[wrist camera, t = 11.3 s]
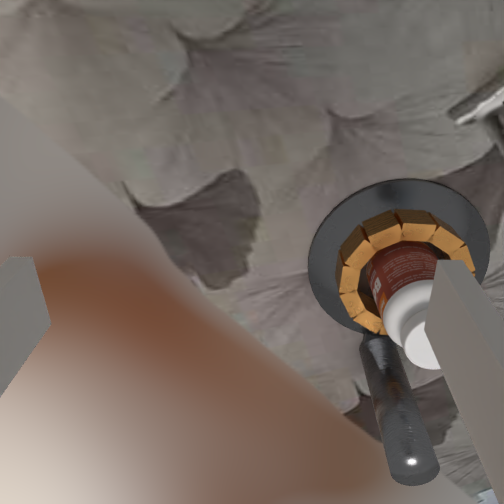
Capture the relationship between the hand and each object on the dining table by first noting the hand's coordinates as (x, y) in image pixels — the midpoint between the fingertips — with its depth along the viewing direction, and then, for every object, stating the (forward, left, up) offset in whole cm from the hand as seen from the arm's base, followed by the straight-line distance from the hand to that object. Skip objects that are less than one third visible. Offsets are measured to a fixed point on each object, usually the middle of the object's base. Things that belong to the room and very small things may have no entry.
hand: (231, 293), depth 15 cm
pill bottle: (+12, +14, -24) cm, 30 cm away
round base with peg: (+14, +13, -25) cm, 31 cm away
